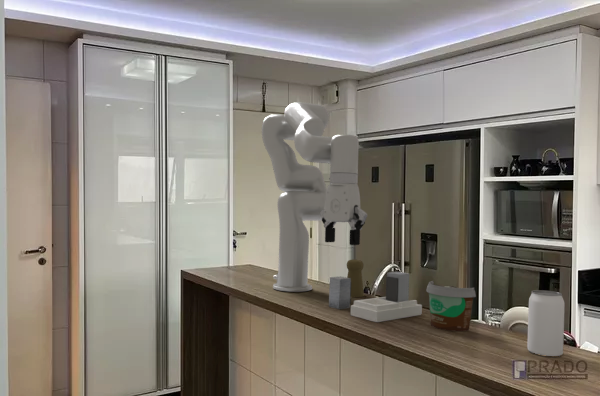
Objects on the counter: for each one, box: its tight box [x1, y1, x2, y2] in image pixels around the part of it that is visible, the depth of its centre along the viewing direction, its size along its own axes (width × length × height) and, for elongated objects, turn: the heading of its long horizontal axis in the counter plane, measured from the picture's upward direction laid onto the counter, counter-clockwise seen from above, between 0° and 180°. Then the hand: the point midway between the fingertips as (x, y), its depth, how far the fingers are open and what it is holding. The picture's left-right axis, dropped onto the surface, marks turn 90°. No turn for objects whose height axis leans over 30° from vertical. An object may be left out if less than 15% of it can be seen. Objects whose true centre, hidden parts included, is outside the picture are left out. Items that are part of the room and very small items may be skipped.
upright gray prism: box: [328, 276, 352, 310], centre depth 145 cm, size 4×4×8 cm
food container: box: [426, 280, 477, 332], centre depth 124 cm, size 12×6×10 cm, turn 40°
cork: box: [346, 258, 365, 298], centre depth 163 cm, size 6×6×11 cm
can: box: [526, 289, 565, 357], centre depth 106 cm, size 6×6×12 cm
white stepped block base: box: [350, 271, 423, 323], centre depth 136 cm, size 9×17×10 cm, turn 129°
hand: (341, 243), depth 144 cm, fingers open, 9 cm apart
